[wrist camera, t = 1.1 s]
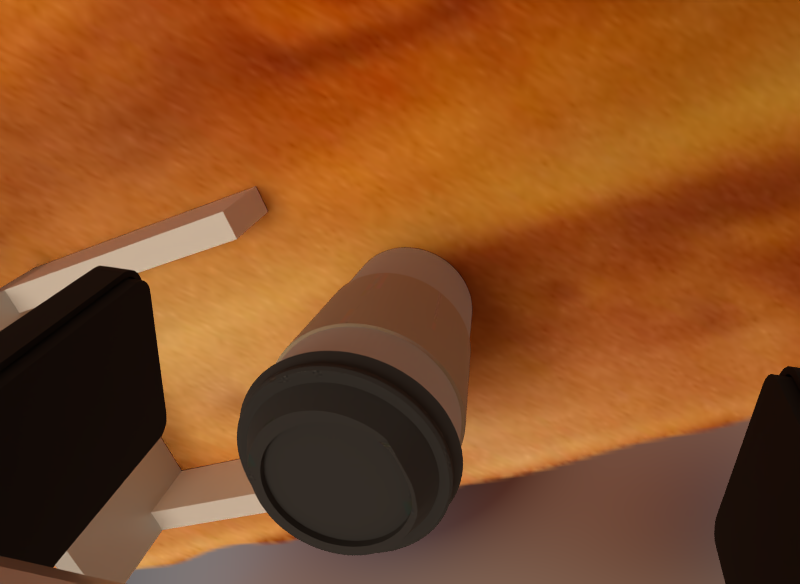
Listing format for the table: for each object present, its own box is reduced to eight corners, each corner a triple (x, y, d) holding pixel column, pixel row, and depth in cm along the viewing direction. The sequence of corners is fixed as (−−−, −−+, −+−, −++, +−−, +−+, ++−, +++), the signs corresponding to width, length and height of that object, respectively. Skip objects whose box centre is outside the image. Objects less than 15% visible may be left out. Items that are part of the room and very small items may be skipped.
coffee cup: (362, 384, 41) (265, 591, 28) (309, 247, 37) (171, 408, 24) (511, 362, 38) (482, 580, 25) (468, 211, 35) (408, 371, 21)
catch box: (255, 186, 37) (157, 260, 28) (383, 450, 43) (336, 579, 34) (33, 268, 42) (-106, 351, 33) (174, 490, 48) (88, 610, 40)
